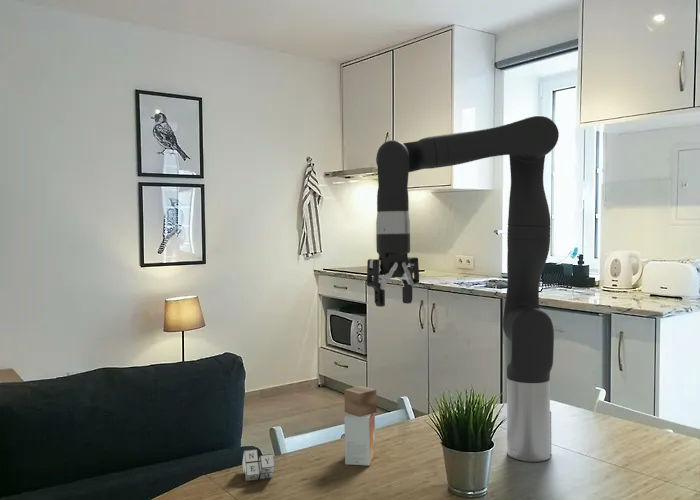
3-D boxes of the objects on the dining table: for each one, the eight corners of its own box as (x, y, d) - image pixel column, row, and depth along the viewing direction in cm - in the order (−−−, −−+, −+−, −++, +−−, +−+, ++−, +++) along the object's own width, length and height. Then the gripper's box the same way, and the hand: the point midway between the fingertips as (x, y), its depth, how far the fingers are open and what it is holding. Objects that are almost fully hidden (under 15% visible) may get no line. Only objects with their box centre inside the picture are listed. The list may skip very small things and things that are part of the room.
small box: (370, 466, 130) (369, 418, 130) (344, 465, 131) (343, 416, 131) (376, 453, 138) (375, 407, 138) (351, 452, 139) (351, 406, 139)
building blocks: (244, 486, 125) (247, 469, 120) (242, 462, 129) (245, 444, 123) (270, 483, 127) (274, 466, 121) (267, 459, 130) (271, 441, 125)
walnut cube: (361, 407, 138) (361, 385, 138) (376, 412, 134) (376, 389, 134) (344, 411, 135) (344, 389, 135) (359, 416, 131) (359, 393, 131)
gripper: (382, 232, 128) (383, 309, 128) (427, 231, 137) (427, 303, 137) (358, 232, 133) (359, 306, 134) (403, 232, 143) (403, 301, 143)
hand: (394, 304), depth 136 cm, fingers open, 8 cm apart
